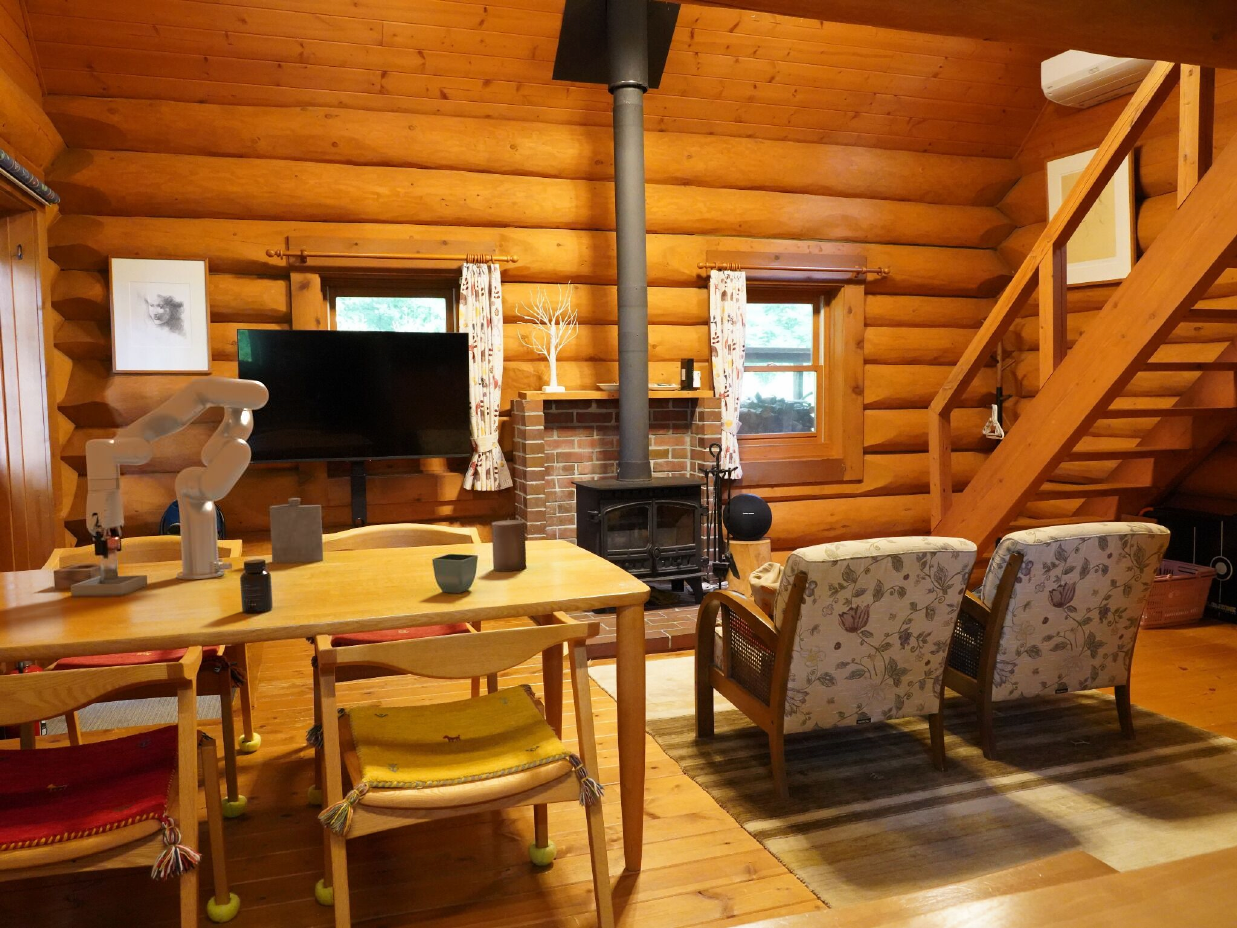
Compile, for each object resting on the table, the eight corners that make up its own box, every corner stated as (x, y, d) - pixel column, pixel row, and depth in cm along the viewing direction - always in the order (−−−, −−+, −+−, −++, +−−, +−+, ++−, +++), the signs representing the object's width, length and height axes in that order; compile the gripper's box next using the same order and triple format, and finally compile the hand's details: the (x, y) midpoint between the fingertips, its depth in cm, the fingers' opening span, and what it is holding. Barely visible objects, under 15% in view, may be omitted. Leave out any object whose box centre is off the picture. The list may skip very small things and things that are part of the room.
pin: (105, 576, 242) (102, 536, 241) (125, 576, 242) (123, 536, 241) (93, 581, 236) (90, 539, 236) (114, 580, 236) (112, 539, 236)
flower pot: (479, 588, 233) (478, 554, 233) (463, 595, 225) (462, 560, 224) (449, 587, 236) (448, 553, 236) (432, 594, 228) (431, 559, 227)
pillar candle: (533, 567, 263) (531, 516, 262) (512, 572, 255) (510, 520, 254) (507, 565, 268) (505, 515, 267) (485, 570, 260) (484, 518, 259)
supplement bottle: (247, 608, 216) (244, 558, 215) (276, 607, 216) (274, 557, 215) (237, 614, 209) (235, 563, 208) (267, 613, 209) (265, 562, 209)
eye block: (112, 580, 254) (110, 563, 254) (91, 588, 244) (90, 570, 244) (76, 581, 254) (75, 564, 254) (54, 588, 244) (53, 570, 244)
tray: (147, 585, 246) (146, 575, 246) (121, 596, 233) (120, 584, 233) (100, 586, 246) (99, 576, 246) (71, 597, 233) (70, 585, 233)
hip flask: (324, 559, 283) (322, 497, 282) (320, 562, 279) (317, 498, 278) (274, 560, 283) (271, 497, 282) (269, 563, 279) (266, 499, 278)
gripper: (108, 483, 246) (112, 548, 247) (70, 489, 229) (75, 559, 230) (135, 482, 246) (139, 547, 247) (100, 488, 229) (104, 558, 230)
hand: (108, 552), depth 239 cm, fingers closed on pin, 5 cm apart
